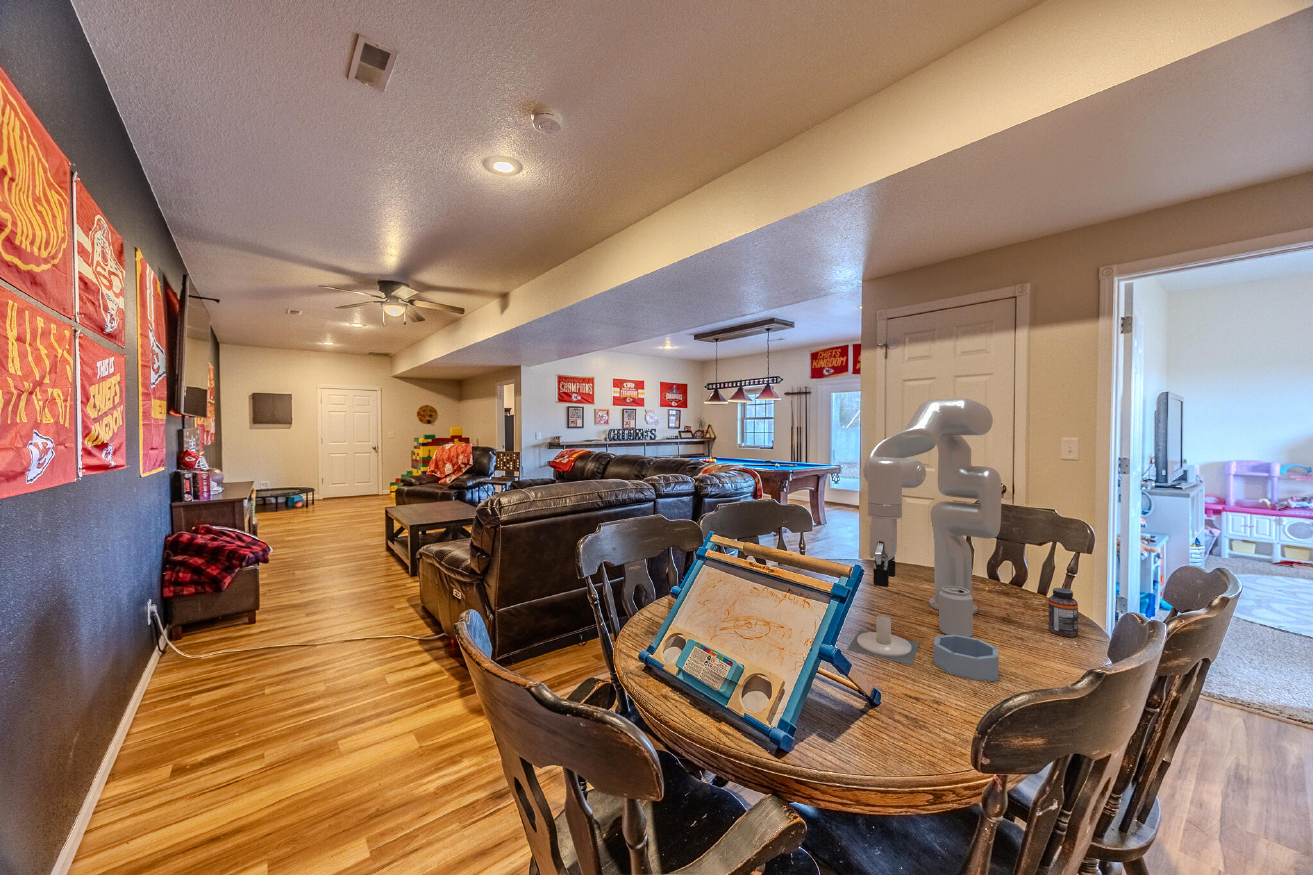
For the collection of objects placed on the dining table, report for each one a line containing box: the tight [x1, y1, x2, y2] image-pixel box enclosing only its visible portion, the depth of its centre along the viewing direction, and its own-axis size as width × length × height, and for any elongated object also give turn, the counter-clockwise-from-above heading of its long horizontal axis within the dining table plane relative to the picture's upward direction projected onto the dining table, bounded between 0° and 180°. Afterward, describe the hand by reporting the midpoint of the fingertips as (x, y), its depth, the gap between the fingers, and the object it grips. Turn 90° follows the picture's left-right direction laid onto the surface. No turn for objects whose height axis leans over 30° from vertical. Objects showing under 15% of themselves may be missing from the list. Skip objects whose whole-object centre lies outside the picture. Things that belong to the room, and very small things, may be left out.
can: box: [938, 586, 974, 638], centre depth 128 cm, size 8×8×12 cm
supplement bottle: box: [1047, 587, 1079, 638], centre depth 128 cm, size 6×6×11 cm
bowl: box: [933, 634, 1000, 683], centre depth 110 cm, size 12×12×5 cm
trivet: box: [846, 629, 921, 666], centre depth 120 cm, size 14×14×1 cm
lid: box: [857, 614, 911, 657], centre depth 120 cm, size 12×12×7 cm
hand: (884, 580), depth 120 cm, fingers open, 9 cm apart
